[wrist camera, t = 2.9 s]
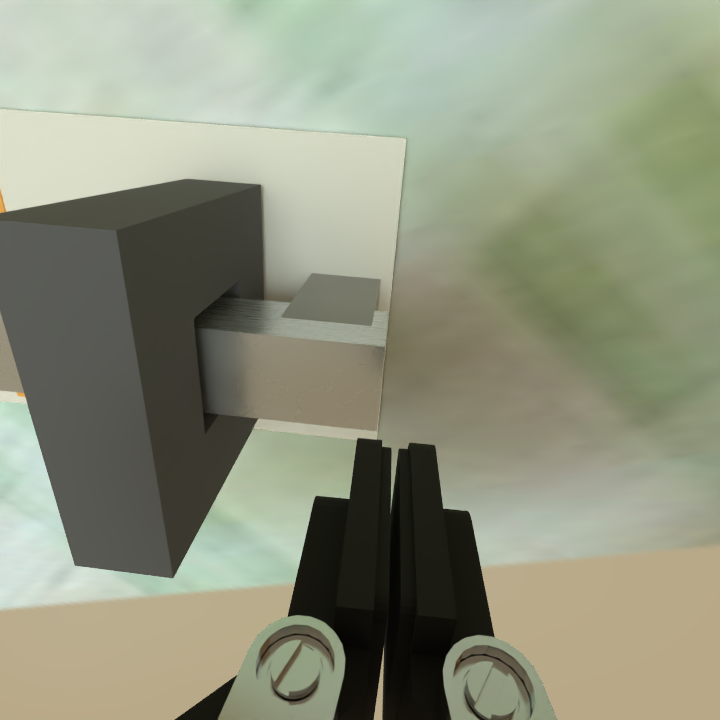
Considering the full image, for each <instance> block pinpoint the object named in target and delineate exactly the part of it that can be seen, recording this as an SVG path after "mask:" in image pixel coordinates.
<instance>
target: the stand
mask: <svg viewBox="0 0 720 720" xmlns="http://www.w3.org/2000/svg"><path fill="white" fill-rule="evenodd" d="M406 139H407V138H396V137H382V136H368V135H354V134H341V133H327V132H313V131H299V130H285V129H272V128H258V127H244V126H230V125H216V124H203V123H189V122H175V121H161V120H147V119H134V118H120V117H106V116H92V115H78V114H65V113H51V112H37V111H23V110H9V109H0V213H3V212H8V211H14V210H19V209H24V208H30V207H35V206H41V205H46V204H52V203H57V202H62V201H68V200H73V199H79V198H84V197H90V196H95V195H101V194H106V193H111V192H117V191H122V190H128V189H133V188H139V187H144V186H149V185H155V184H160V183H166V182H171V181H177V180H182V179H197V180H210V181H222V182H235V183H247V184H260V185H261V207H262V243H263V279H264V300H268V301H279V302H289V303H290V304H289V306H288V307H287V309H286V310H285V311H284V313H283V314H282V316H281V318H292V319H302V320H313V321H323V322H334V323H344V324H355V325H365V326H372V322H373V317H374V312H375V311H385V312H389V311H390V301H391V291H392V281H393V271H394V260H395V250H396V240H397V230H398V220H399V210H400V200H401V189H402V179H403V169H404V159H405V149H406ZM388 321H389V317H388ZM387 331H388V327H387ZM386 342H387V337H386ZM385 352H386V347H385ZM384 362H385V357H384ZM383 372H384V367H383ZM382 382H383V378H382ZM381 392H382V388H381ZM0 401H5V402H14V403H23V404H27V401H26V397H25V394H24V393H18V392H9V391H0ZM380 402H381V397H380ZM379 413H380V406H379ZM378 423H379V416H378ZM253 429H259V430H269V431H278V432H287V433H296V434H305V435H314V436H323V437H332V438H341V439H350V440H357V438H365V439H376V440H377V433H378V425H377V431H368V430H359V429H350V428H341V427H331V426H322V425H313V424H304V423H295V422H285V421H276V420H267V419H258V420H257V422H256V424H255V426H254V428H253Z"/></svg>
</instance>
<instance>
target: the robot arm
mask: <svg viewBox="0 0 720 720" xmlns="http://www.w3.org/2000/svg"><path fill="white" fill-rule="evenodd" d="M390 510H391V515H390ZM383 648H384V674H383V720H557V718H556V715H555V713H554V710H553V708H552V705H551V703H550V701H549V698H548V696H547V693H546V691H545V688H544V686H543V683H542V681H541V679H540V678H539V676H538V674H537V672H536V670H535V668H534V667H533V666H532V664H531V663H530V662H529V661H528V660H527V659H526V657H525V656H524V655H523V654H522V653H521V652H519V651H518V650H517V649H515V648H514V647H513V646H511V645H510V644H508V643H506V642H504V641H501V640H499V639H497V638H495V637H494V633H493V628H492V622H491V617H490V612H489V607H488V602H487V596H486V591H485V586H484V581H483V576H482V571H481V566H480V561H479V556H478V551H477V546H476V541H475V535H474V530H473V525H472V520H471V517H470V514H469V512H468V511H461V510H451V509H443V504H442V496H441V488H440V480H439V472H438V464H437V456H436V449H435V446H434V445H428V444H417V443H409V446H408V449H399V452H398V459H397V467H396V475H395V483H394V491H393V499H392V507H391V448H389V447H382V440H376V439H365V438H357V446H356V453H355V461H354V469H353V476H352V484H351V492H350V499H342V498H332V497H322V496H316V497H315V500H314V503H313V507H312V512H311V516H310V521H309V525H308V529H307V534H306V538H305V543H304V547H303V551H302V556H301V560H300V565H299V569H298V573H297V578H296V582H295V587H294V591H293V595H292V600H291V604H290V609H289V613H288V617H285V618H282V619H280V620H278V621H276V622H274V623H272V624H270V625H268V626H267V627H266V628H265V629H264V630H263V631H262V632H261V633H260V634H258V636H257V637H256V639H255V640H254V642H253V644H252V645H251V647H250V648H249V650H248V652H247V655H246V657H245V659H244V661H243V664H242V666H241V669H240V670H239V673H238V675H236V676H235V677H234V678H232V679H231V680H229V681H228V682H227V683H225V684H224V685H223V686H221V687H220V688H218V689H217V690H216V691H214V692H213V693H211V694H210V695H209V696H207V697H206V698H205V699H203V700H202V701H200V702H199V703H197V704H196V705H195V706H193V707H192V708H191V709H189V710H188V711H186V712H185V713H184V714H182V715H181V716H179V717H178V718H177V719H175V720H373V719H374V712H375V705H376V698H377V691H378V683H379V677H380V669H381V662H382V655H383Z"/></svg>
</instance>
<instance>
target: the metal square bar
mask: <svg viewBox="0 0 720 720" xmlns="http://www.w3.org/2000/svg"><path fill="white" fill-rule="evenodd" d="M289 304H290V303H289V302H279V301H268V300H257V299H247V298H236V297H225V296H220V297H219V298H218V299H216V300H215V301H214V302H213V303H212V304H211V305H209V306H208V307H207V308H206V309H205V310H203V311H202V312H201V313H200V314H199V315H197V316H196V317H195V318H194V329H195V339H196V349H197V359H198V369H199V379H200V389H201V399H202V409H203V413H212V414H221V415H230V416H239V417H249V418H258V419H267V420H276V421H285V422H295V423H304V424H313V425H322V426H331V427H341V428H350V429H359V430H368V431H377V425H378V416H379V406H380V397H381V388H382V378H383V367H384V357H385V347H386V337H387V327H388V317H389V312H385V311H375V312H374V317H373V322H372V326H365V325H355V324H344V323H334V322H323V321H313V320H302V319H292V318H281V316H282V314H283V313H284V311H285V310H286V309H287V307H288V306H289ZM0 391H9V392H18V393H24V391H23V387H22V384H21V380H20V377H19V374H18V370H17V367H16V363H15V360H14V357H13V353H12V350H11V346H10V343H9V340H8V336H7V333H6V329H5V326H4V323H3V319H2V316H1V312H0Z"/></svg>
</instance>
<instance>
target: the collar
mask: <svg viewBox="0 0 720 720" xmlns="http://www.w3.org/2000/svg"><path fill="white" fill-rule="evenodd" d="M220 296H225V297H236V298H247V299H257V300H264V279H263V243H262V207H261V185H260V184H247V183H235V182H222V181H210V180H197V179H182V180H177V181H171V182H166V183H160V184H155V185H149V186H144V187H139V188H133V189H128V190H122V191H117V192H111V193H106V194H101V195H95V196H90V197H84V198H79V199H73V200H68V201H62V202H57V203H52V204H46V205H41V206H35V207H30V208H24V209H19V210H14V211H8V212H3V213H0V312H1V316H2V319H3V323H4V326H5V329H6V333H7V336H8V340H9V343H10V346H11V350H12V353H13V357H14V360H15V363H16V367H17V370H18V374H19V377H20V380H21V384H22V387H23V391H24V394H25V397H26V401H27V404H28V408H29V411H30V414H31V418H32V421H33V425H34V428H35V431H36V435H37V438H38V442H39V445H40V448H41V452H42V455H43V459H44V462H45V465H46V469H47V472H48V475H49V479H50V482H51V486H52V489H53V492H54V496H55V499H56V503H57V506H58V509H59V513H60V516H61V520H62V523H63V526H64V530H65V533H66V537H67V540H68V543H69V547H70V550H71V554H72V557H73V560H74V564H75V566H83V567H91V568H98V569H106V570H114V571H121V572H129V573H137V574H144V575H152V576H160V577H168V578H173V577H174V576H175V574H176V572H177V570H178V568H179V566H180V564H181V562H182V561H183V559H184V557H185V555H186V553H187V551H188V549H189V548H190V546H191V544H192V542H193V540H194V538H195V536H196V534H197V533H198V531H199V529H200V527H201V525H202V523H203V521H204V519H205V518H206V516H207V514H208V512H209V510H210V508H211V506H212V504H213V503H214V501H215V499H216V497H217V495H218V493H219V491H220V489H221V488H222V486H223V484H224V482H225V480H226V478H227V476H228V474H229V473H230V471H231V469H232V467H233V465H234V463H235V461H236V460H237V458H238V456H239V454H240V452H241V450H242V448H243V446H244V445H245V443H246V441H247V439H248V437H249V435H250V433H251V431H252V430H253V428H254V426H255V424H256V422H257V420H258V418H249V417H239V416H230V415H221V414H212V413H203V409H202V399H201V389H200V379H199V369H198V359H197V349H196V339H195V329H194V318H195V317H196V316H197V315H199V314H200V313H201V312H202V311H203V310H205V309H206V308H207V307H208V306H209V305H211V304H212V303H213V302H214V301H215V300H216V299H218V298H219V297H220Z"/></svg>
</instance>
